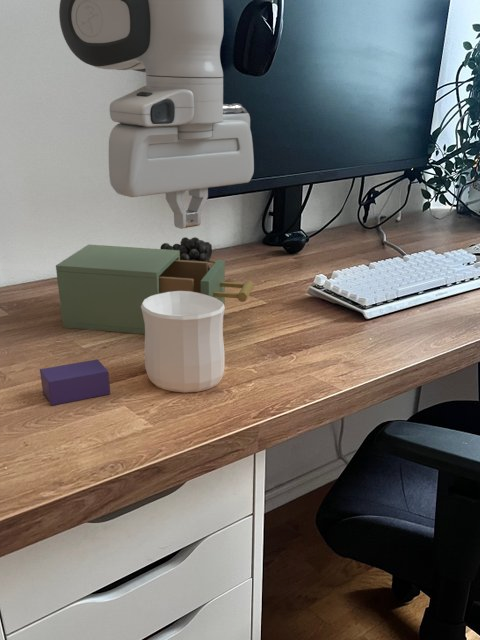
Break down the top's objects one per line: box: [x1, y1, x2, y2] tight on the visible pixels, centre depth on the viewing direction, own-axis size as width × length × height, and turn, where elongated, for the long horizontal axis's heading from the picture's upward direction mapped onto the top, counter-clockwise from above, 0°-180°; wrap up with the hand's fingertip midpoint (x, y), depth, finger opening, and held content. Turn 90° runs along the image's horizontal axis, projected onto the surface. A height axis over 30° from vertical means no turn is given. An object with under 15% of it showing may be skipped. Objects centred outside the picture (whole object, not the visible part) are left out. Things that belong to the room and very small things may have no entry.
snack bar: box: [39, 359, 111, 406], centre depth 81 cm, size 7×4×3 cm, turn 119°
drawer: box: [159, 259, 255, 308], centre depth 102 cm, size 18×11×7 cm, turn 81°
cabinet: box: [55, 243, 180, 335], centre depth 103 cm, size 15×13×9 cm
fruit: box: [159, 236, 216, 271], centre depth 117 cm, size 9×8×15 cm
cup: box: [141, 291, 226, 394], centre depth 84 cm, size 10×10×10 cm
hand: (187, 226), depth 87 cm, fingers closed
